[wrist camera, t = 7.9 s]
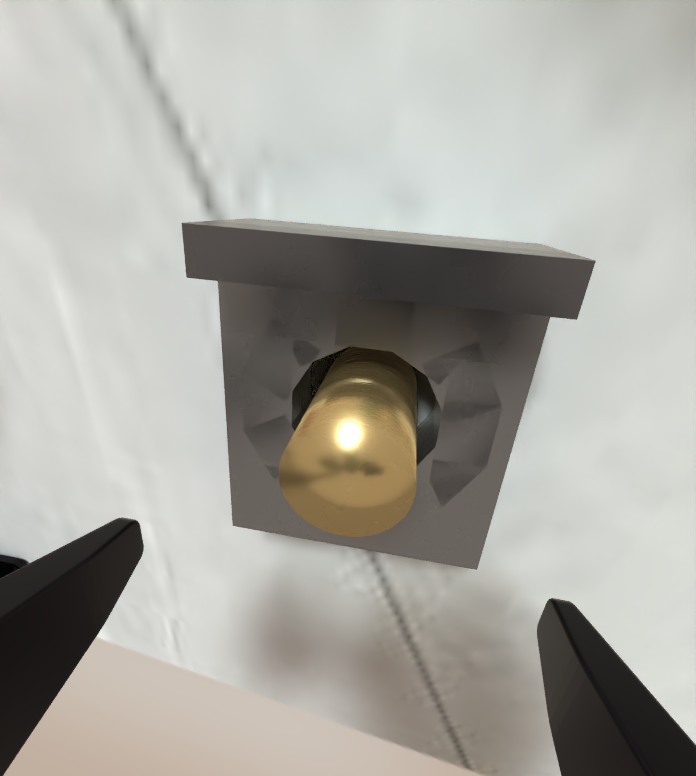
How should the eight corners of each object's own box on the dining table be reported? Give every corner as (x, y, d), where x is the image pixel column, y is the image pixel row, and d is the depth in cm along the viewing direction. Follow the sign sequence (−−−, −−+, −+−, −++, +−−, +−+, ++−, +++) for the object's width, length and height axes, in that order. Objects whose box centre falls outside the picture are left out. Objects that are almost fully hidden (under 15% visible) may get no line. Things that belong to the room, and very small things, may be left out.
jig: (469, 520, 20) (483, 611, 15) (256, 485, 21) (212, 559, 17) (541, 244, 15) (595, 260, 10) (249, 218, 16) (181, 223, 11)
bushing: (410, 431, 19) (405, 547, 12) (325, 419, 19) (278, 524, 13) (423, 349, 17) (426, 433, 11) (329, 337, 17) (278, 412, 11)
